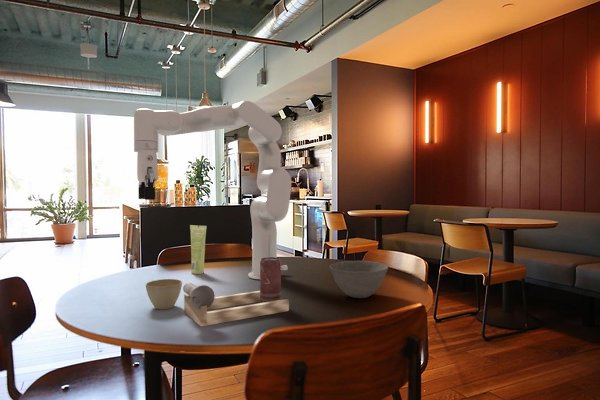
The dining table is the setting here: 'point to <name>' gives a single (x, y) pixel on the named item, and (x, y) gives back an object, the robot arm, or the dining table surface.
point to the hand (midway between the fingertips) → (146, 199)
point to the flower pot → (164, 292)
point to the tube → (197, 248)
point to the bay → (226, 305)
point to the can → (270, 279)
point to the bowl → (358, 277)
